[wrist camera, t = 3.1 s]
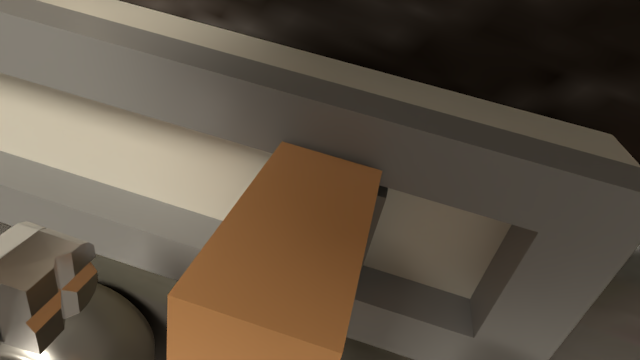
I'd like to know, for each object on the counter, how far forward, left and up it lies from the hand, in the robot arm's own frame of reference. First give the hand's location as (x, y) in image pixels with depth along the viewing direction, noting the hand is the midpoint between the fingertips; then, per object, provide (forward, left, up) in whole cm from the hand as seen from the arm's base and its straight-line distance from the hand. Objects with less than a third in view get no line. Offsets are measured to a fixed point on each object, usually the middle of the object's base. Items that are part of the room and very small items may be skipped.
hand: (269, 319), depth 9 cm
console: (+7, 0, -6) cm, 9 cm away
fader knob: (0, 0, -4) cm, 4 cm away
